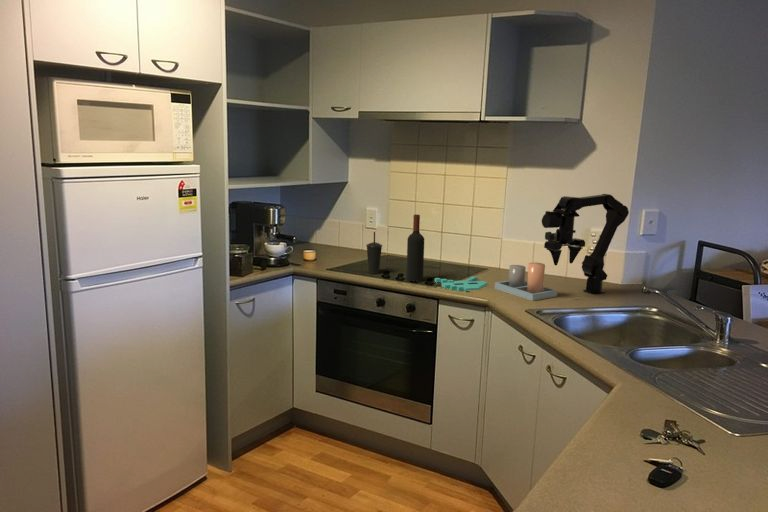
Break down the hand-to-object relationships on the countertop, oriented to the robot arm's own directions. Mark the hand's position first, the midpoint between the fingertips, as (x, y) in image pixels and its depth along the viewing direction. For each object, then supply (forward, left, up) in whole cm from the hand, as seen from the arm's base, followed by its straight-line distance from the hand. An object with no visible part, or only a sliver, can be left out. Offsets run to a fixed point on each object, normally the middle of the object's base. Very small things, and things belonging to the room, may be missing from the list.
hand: (563, 264), depth 248 cm
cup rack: (+14, -7, -13) cm, 20 cm away
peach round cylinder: (+14, -2, -12) cm, 18 cm away
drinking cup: (+50, -70, -13) cm, 87 cm away
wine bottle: (+41, -49, -13) cm, 65 cm away
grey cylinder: (+14, -12, -12) cm, 22 cm away
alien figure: (+28, -30, -14) cm, 43 cm away
